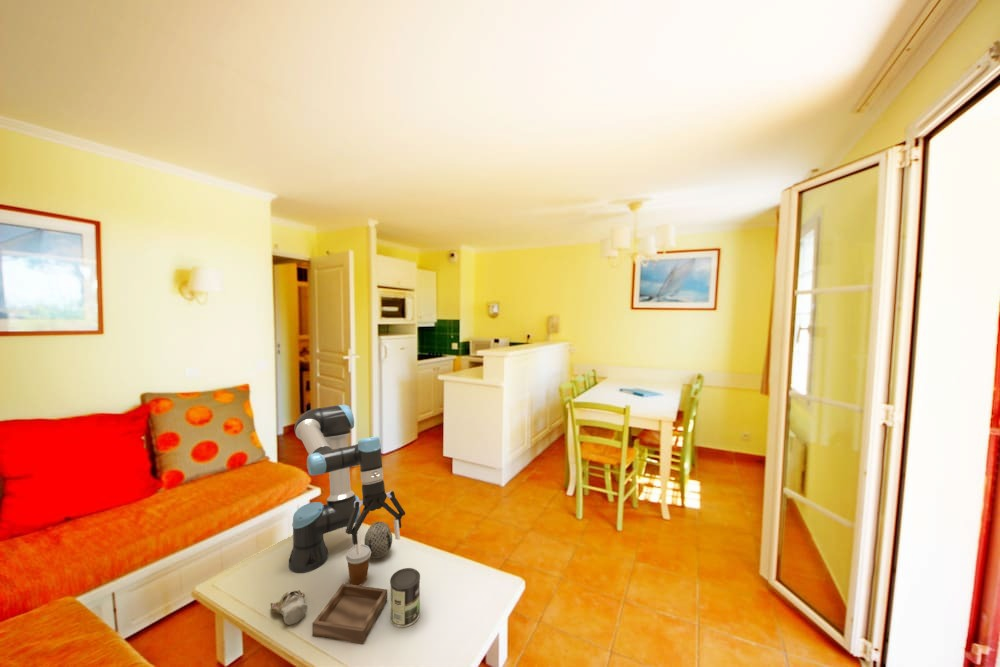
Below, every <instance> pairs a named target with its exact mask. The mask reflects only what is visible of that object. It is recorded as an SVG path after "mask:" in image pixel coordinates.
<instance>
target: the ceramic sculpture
mask: <svg viewBox="0 0 1000 667" xmlns="http://www.w3.org/2000/svg"><path fill="white" fill-rule="evenodd" d="M305 596H306V594H305V592H301V590H300V589H298V590H296V589H292V590H290V591H287V592H286V593H284V594H283V596H282V597H281V599H280V601H277V602H274V603H273V602H270V610H271V612H273V614H279V615H280V614H281V615H282V616H283V621H284V623H285V624H286V625H287V626H291V625H293V624H297V623H299V622H300V620H302V619H303V618H304V617H305V615H306V613H307V611H308V610H307V609H308V605H307V604H306V603H305V600H304V599H305Z"/></svg>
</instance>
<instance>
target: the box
mask: <svg viewBox="0 0 1000 667" xmlns="http://www.w3.org/2000/svg"><path fill="white" fill-rule="evenodd" d="M388 591H389V590H388V589H387V588H381V587H379V588H378V587H374V586H373V587H370V586H366V585H365V586H364V585H352V584H351V583H350V584H349V583H342V584H341V585H340V587H338V589H337V591H335V593H334V595H332V597H331V599H329V601H328V602H327V603H326V604H325V606H324V607H323V608H322V610H321V611H320V613H319V614H318V615H317V617H316V618H315V619H314V620H313V622H312V623H311V627H312V628H311V629H312V630H311V631H312V637H315V638H316V637H317V638H322V639H326V640H327V639H329V640H334V641H335V640H336V641H340V642H345V643H347V642H348V643H353V644H360V645H364V644H365V641H366V640H367V638H368V636H369V634H370V632H371V631H372V629H373V627H374V626H375V624H376V622H377V620H378V619H379V617H380V615H381V614H382V611H383V610H384V608H385V606H386V604H387V603H388V595H389V594H388Z"/></svg>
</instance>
